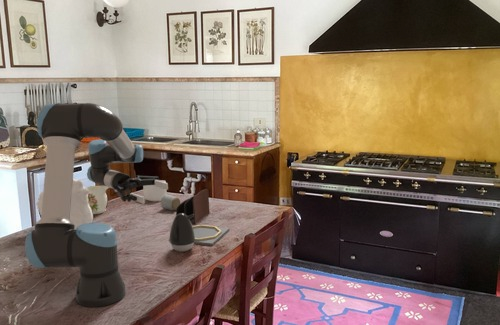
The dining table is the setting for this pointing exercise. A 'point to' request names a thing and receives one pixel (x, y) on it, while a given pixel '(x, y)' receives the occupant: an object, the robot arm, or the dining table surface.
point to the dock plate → (208, 234)
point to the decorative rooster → (76, 204)
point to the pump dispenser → (182, 233)
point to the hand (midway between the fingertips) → (156, 193)
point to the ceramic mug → (170, 202)
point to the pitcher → (97, 198)
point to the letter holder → (195, 206)
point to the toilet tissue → (154, 192)
